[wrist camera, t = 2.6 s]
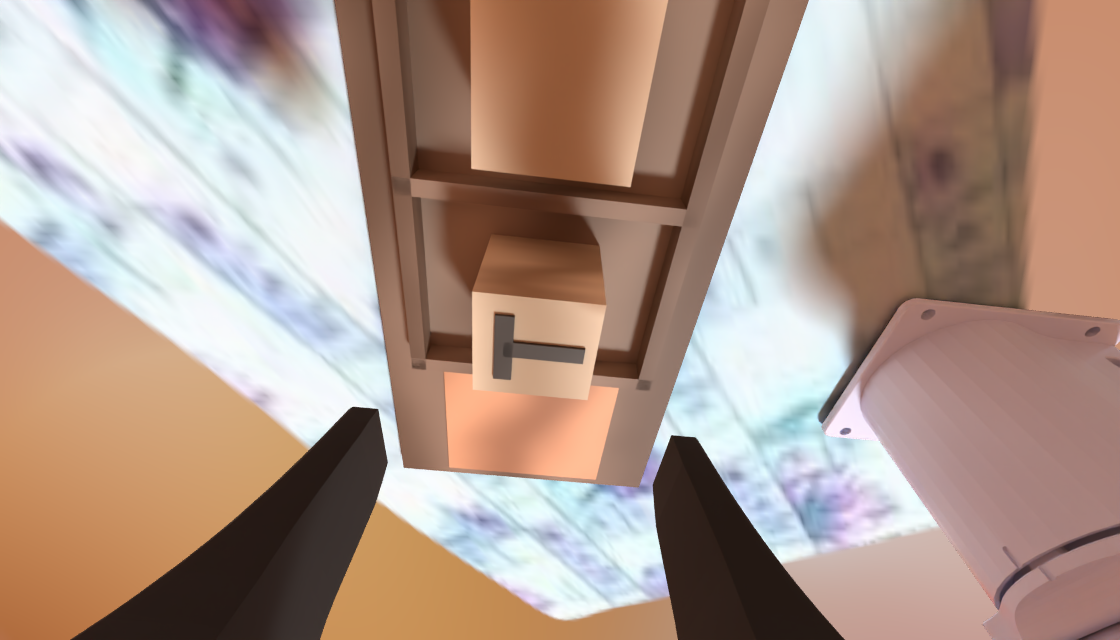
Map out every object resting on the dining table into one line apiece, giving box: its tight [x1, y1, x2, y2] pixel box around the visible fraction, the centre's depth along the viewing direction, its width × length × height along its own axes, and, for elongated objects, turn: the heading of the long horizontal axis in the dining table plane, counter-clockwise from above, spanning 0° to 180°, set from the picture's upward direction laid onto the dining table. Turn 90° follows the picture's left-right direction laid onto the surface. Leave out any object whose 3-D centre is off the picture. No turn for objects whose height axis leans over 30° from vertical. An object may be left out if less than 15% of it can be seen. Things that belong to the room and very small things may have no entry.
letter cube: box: [472, 234, 607, 400], centre depth 16 cm, size 4×4×4 cm
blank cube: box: [470, 0, 668, 187], centre depth 12 cm, size 4×4×4 cm
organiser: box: [335, 0, 809, 487], centre depth 18 cm, size 13×25×2 cm, turn 174°
